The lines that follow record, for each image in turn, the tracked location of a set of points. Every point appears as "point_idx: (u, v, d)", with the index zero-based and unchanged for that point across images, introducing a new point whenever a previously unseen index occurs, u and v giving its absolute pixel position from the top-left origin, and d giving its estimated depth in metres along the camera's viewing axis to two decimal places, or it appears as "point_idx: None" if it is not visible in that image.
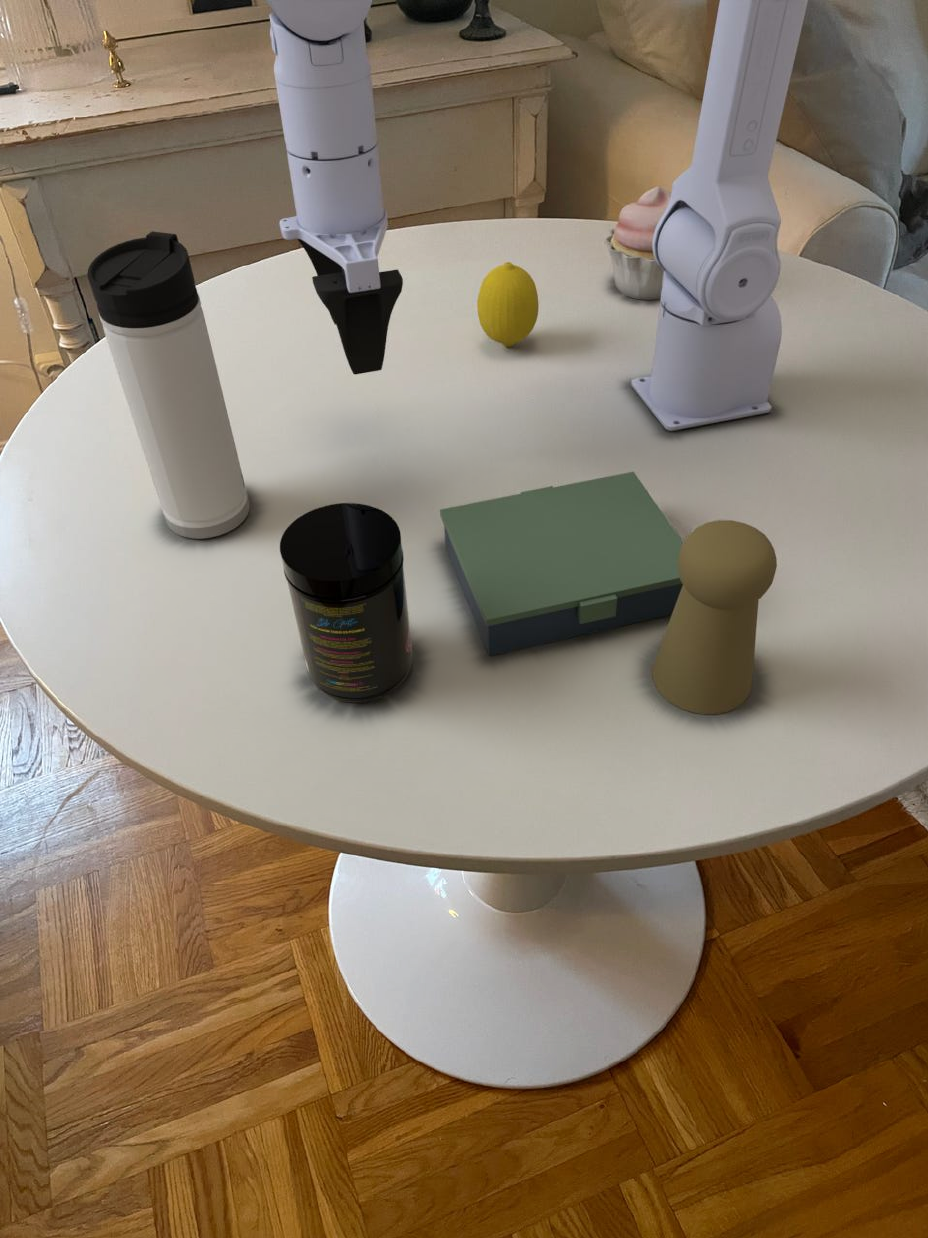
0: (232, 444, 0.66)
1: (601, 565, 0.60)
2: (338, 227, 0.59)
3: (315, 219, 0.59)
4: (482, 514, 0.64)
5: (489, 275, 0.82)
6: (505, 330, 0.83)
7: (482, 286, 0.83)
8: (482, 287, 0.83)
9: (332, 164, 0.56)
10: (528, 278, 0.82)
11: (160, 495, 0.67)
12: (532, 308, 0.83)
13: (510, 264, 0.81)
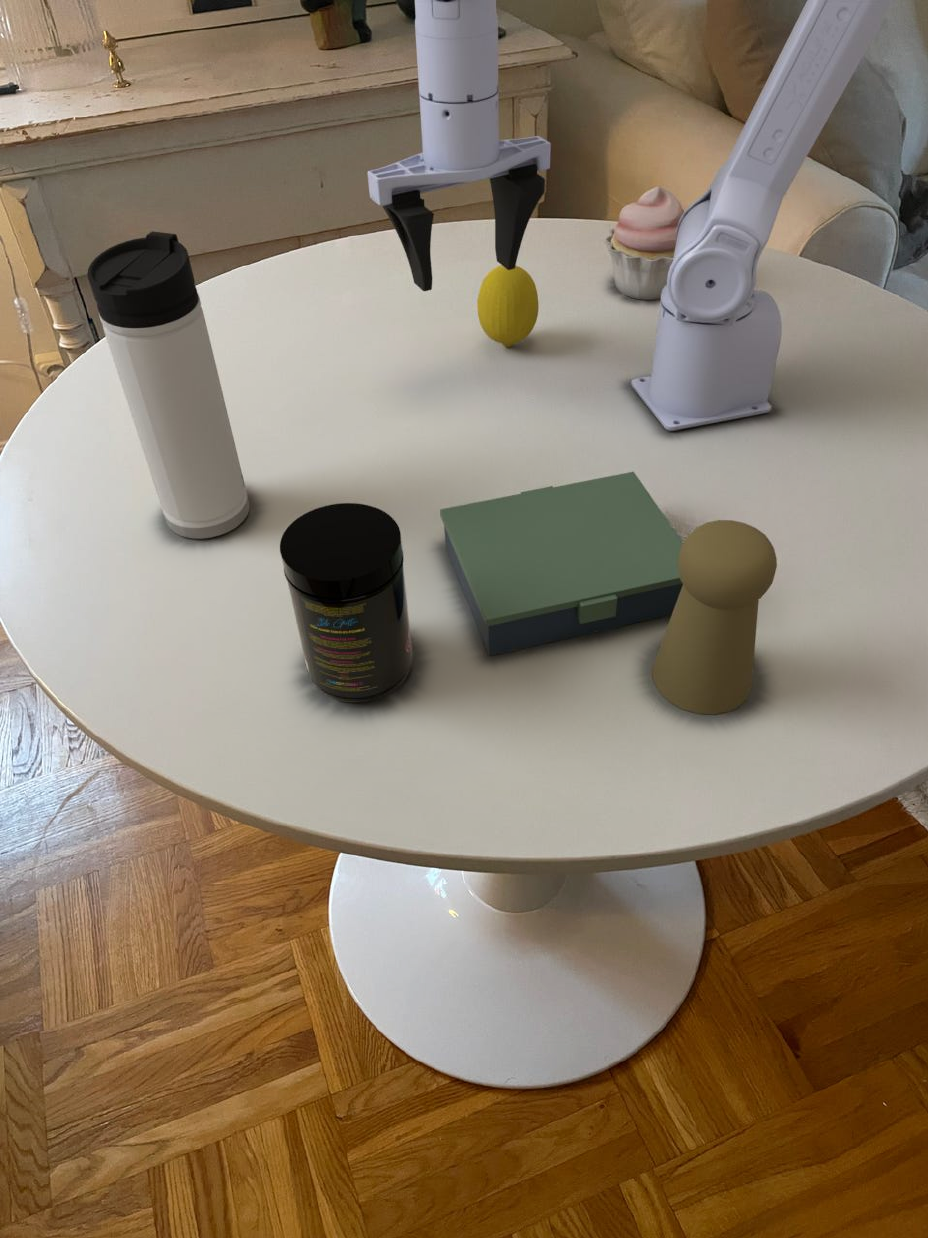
0: (232, 444, 0.66)
1: (601, 565, 0.60)
2: (423, 155, 0.69)
3: None
4: (482, 514, 0.64)
5: (489, 275, 0.82)
6: (505, 330, 0.83)
7: (482, 286, 0.83)
8: (482, 287, 0.83)
9: (421, 100, 0.67)
10: (528, 278, 0.82)
11: (160, 495, 0.67)
12: (532, 308, 0.83)
13: None
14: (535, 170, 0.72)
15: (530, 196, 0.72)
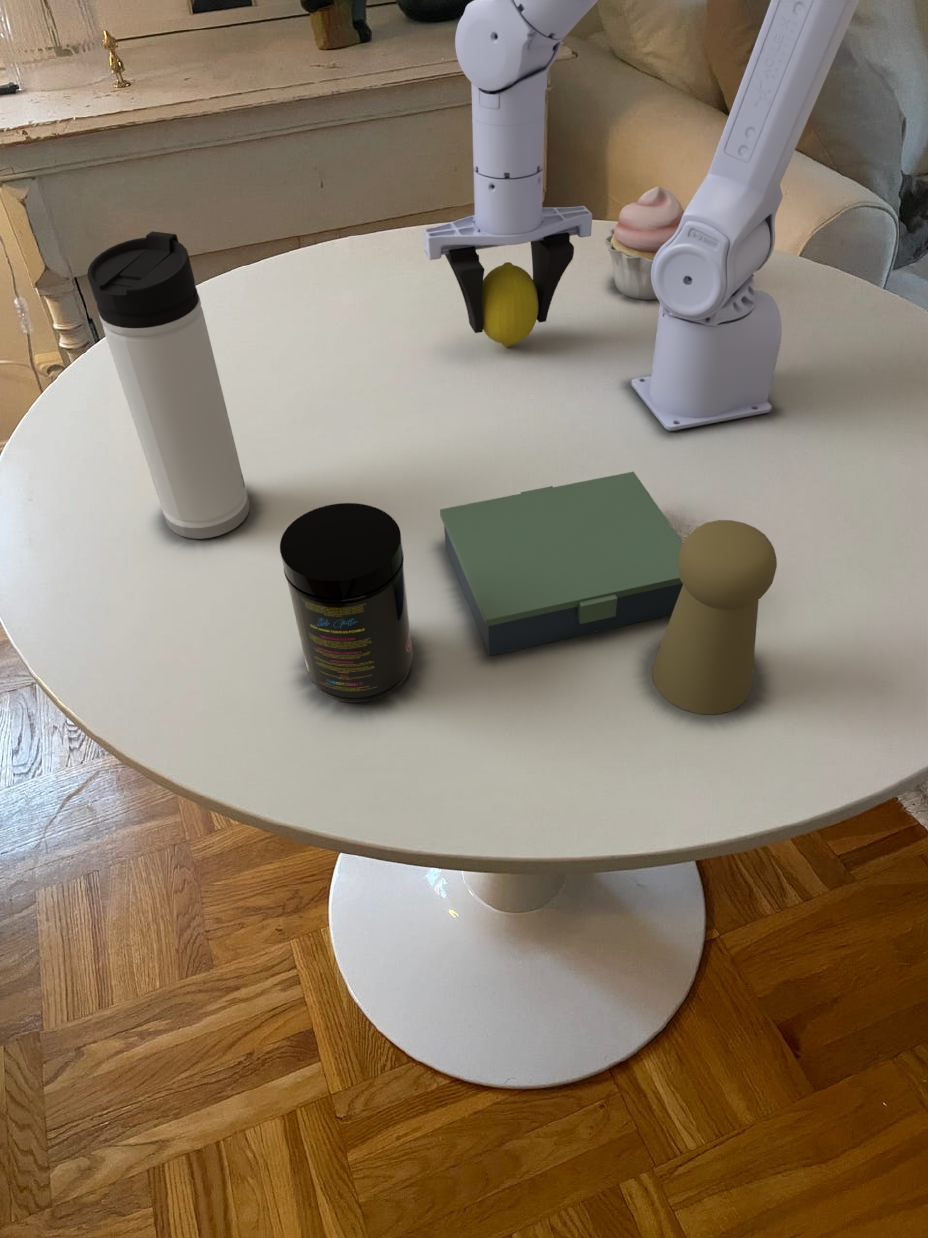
0: (232, 444, 0.66)
1: (601, 565, 0.60)
2: (474, 218, 0.79)
3: None
4: (482, 514, 0.64)
5: (489, 275, 0.82)
6: (505, 330, 0.83)
7: (482, 286, 0.83)
8: None
9: (474, 172, 0.76)
10: (528, 278, 0.82)
11: (160, 495, 0.67)
12: (532, 308, 0.83)
13: (510, 264, 0.81)
14: (568, 238, 0.81)
15: (559, 261, 0.80)
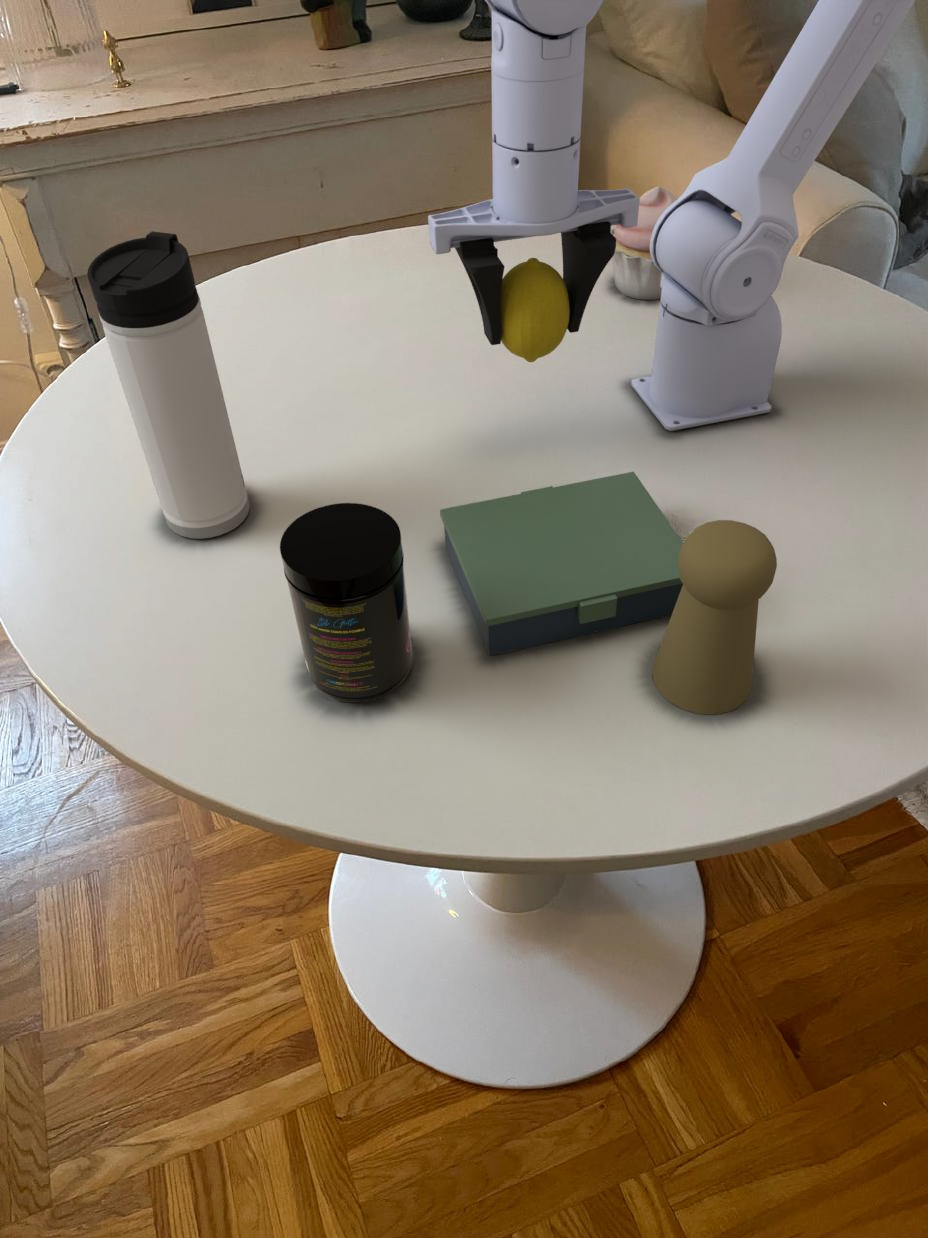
0: (232, 444, 0.66)
1: (601, 565, 0.60)
2: (492, 202, 0.63)
3: None
4: (482, 514, 0.64)
5: (509, 274, 0.66)
6: (528, 342, 0.67)
7: None
8: None
9: (493, 143, 0.60)
10: (558, 278, 0.66)
11: (160, 495, 0.67)
12: (562, 315, 0.67)
13: (536, 260, 0.66)
14: (608, 228, 0.65)
15: (597, 257, 0.64)
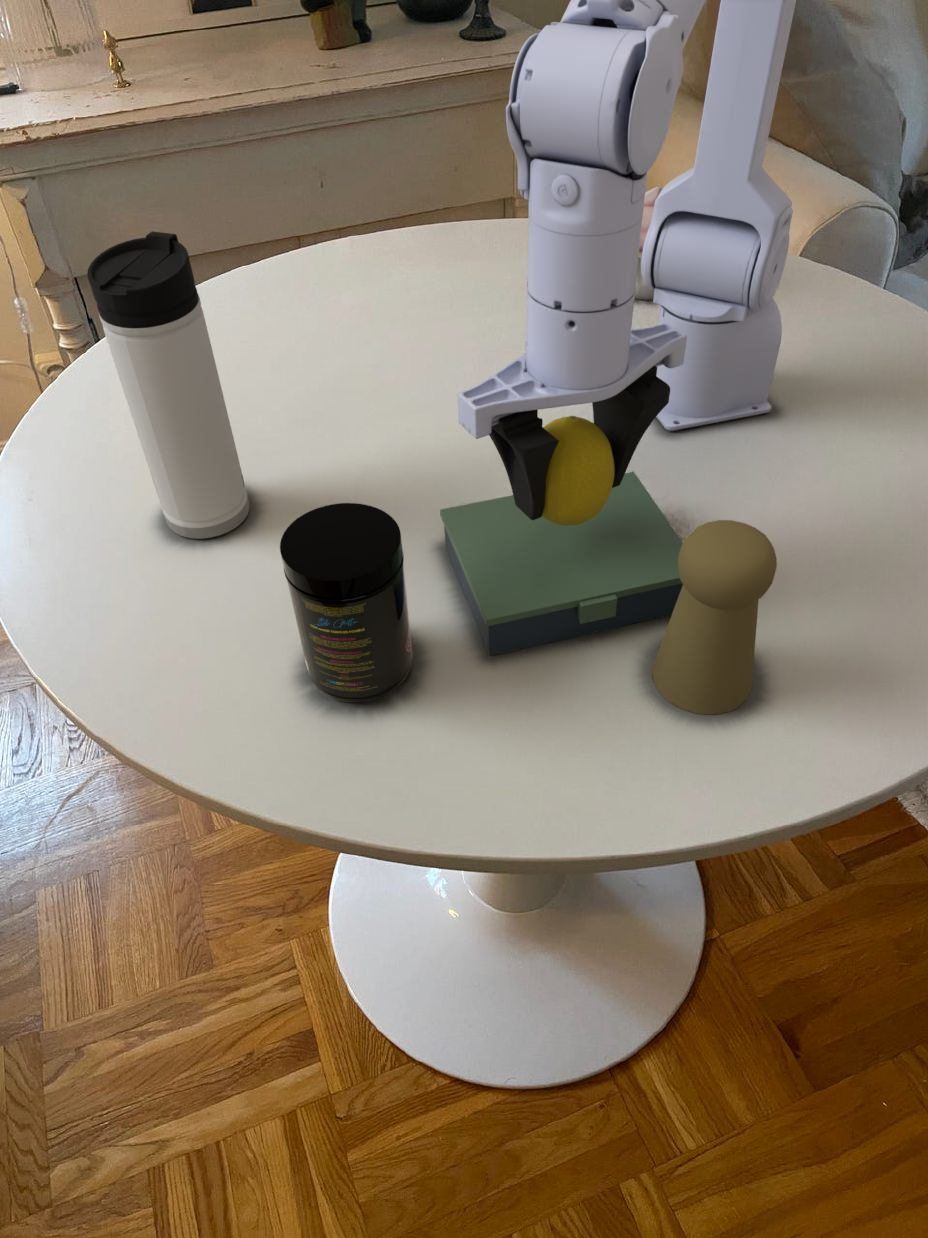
0: (232, 444, 0.66)
1: (601, 565, 0.60)
2: (529, 366, 0.52)
3: None
4: (482, 514, 0.64)
5: None
6: (578, 512, 0.57)
7: None
8: None
9: (532, 302, 0.49)
10: (602, 435, 0.56)
11: (160, 495, 0.67)
12: (612, 475, 0.57)
13: (576, 419, 0.55)
14: (654, 372, 0.55)
15: (652, 409, 0.54)
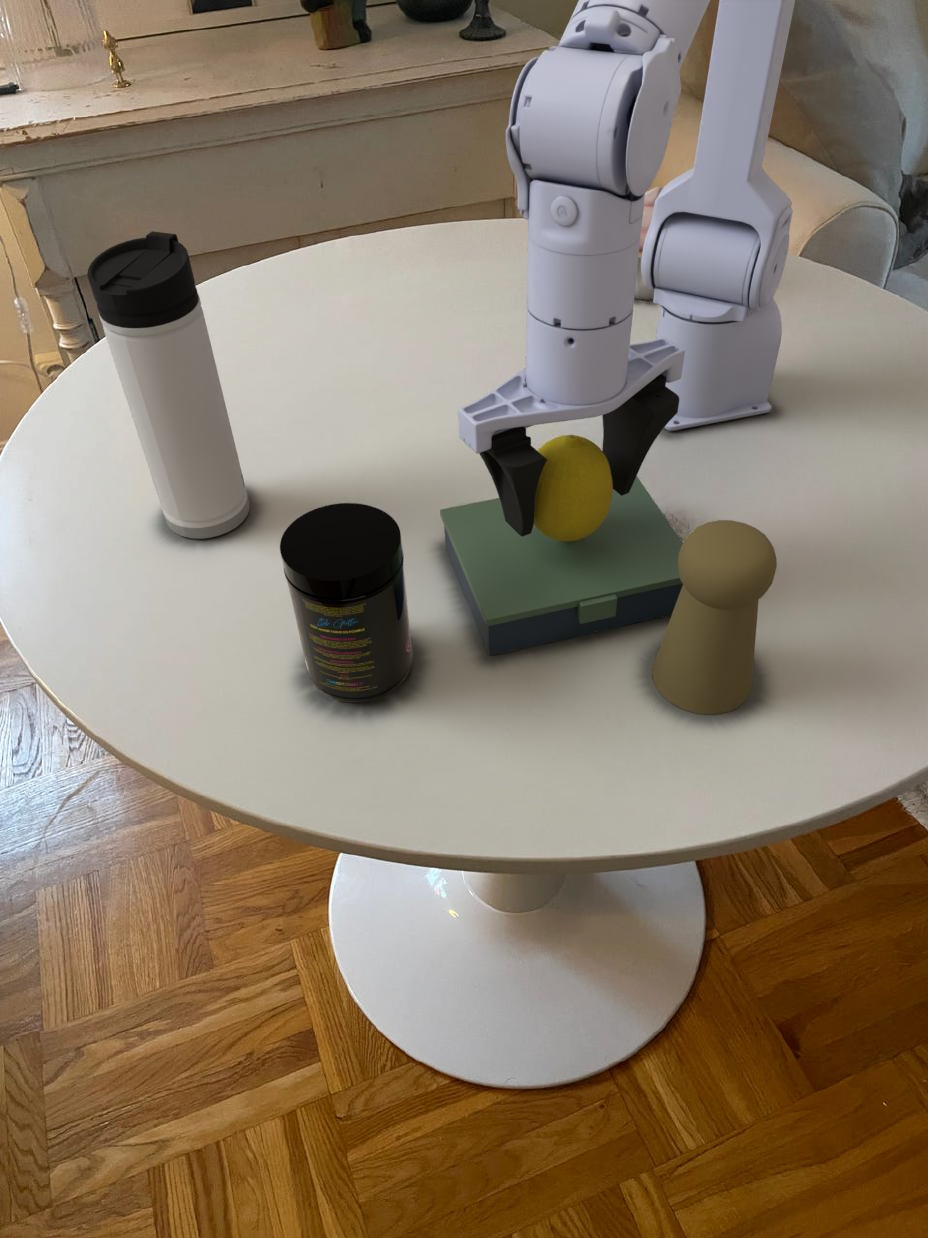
0: (232, 444, 0.66)
1: (601, 565, 0.60)
2: (529, 381, 0.52)
3: None
4: (482, 514, 0.64)
5: (545, 457, 0.56)
6: (577, 529, 0.58)
7: None
8: None
9: (532, 319, 0.50)
10: (601, 453, 0.57)
11: (160, 495, 0.67)
12: (610, 493, 0.58)
13: (575, 438, 0.56)
14: (663, 383, 0.56)
15: (661, 419, 0.55)
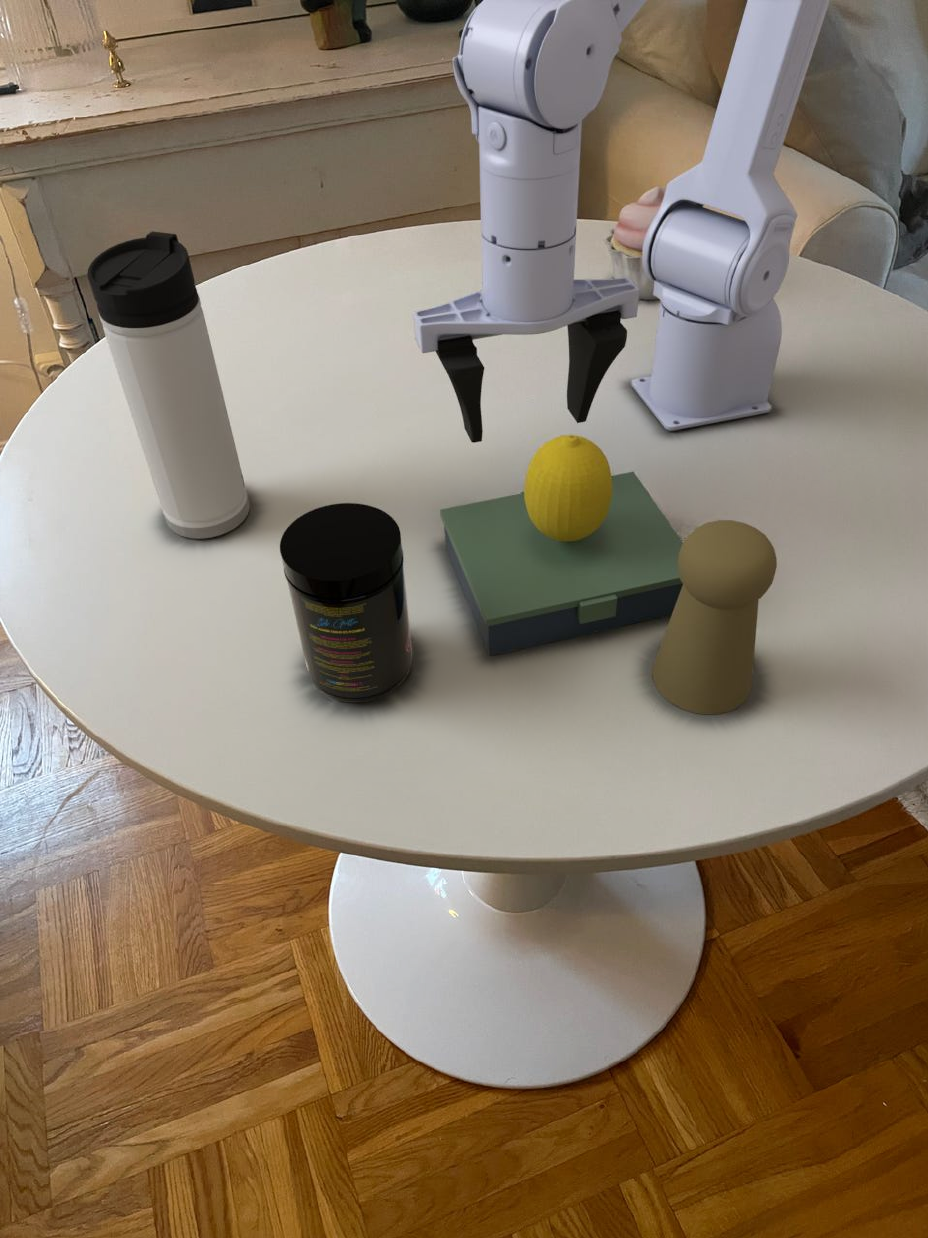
0: (232, 444, 0.66)
1: (601, 565, 0.60)
2: (482, 296, 0.58)
3: None
4: (482, 514, 0.64)
5: (545, 457, 0.56)
6: (577, 529, 0.58)
7: (536, 473, 0.57)
8: (536, 474, 0.57)
9: (482, 238, 0.56)
10: (601, 453, 0.57)
11: (160, 495, 0.67)
12: (610, 493, 0.58)
13: (575, 438, 0.56)
14: (618, 318, 0.61)
15: (607, 350, 0.60)
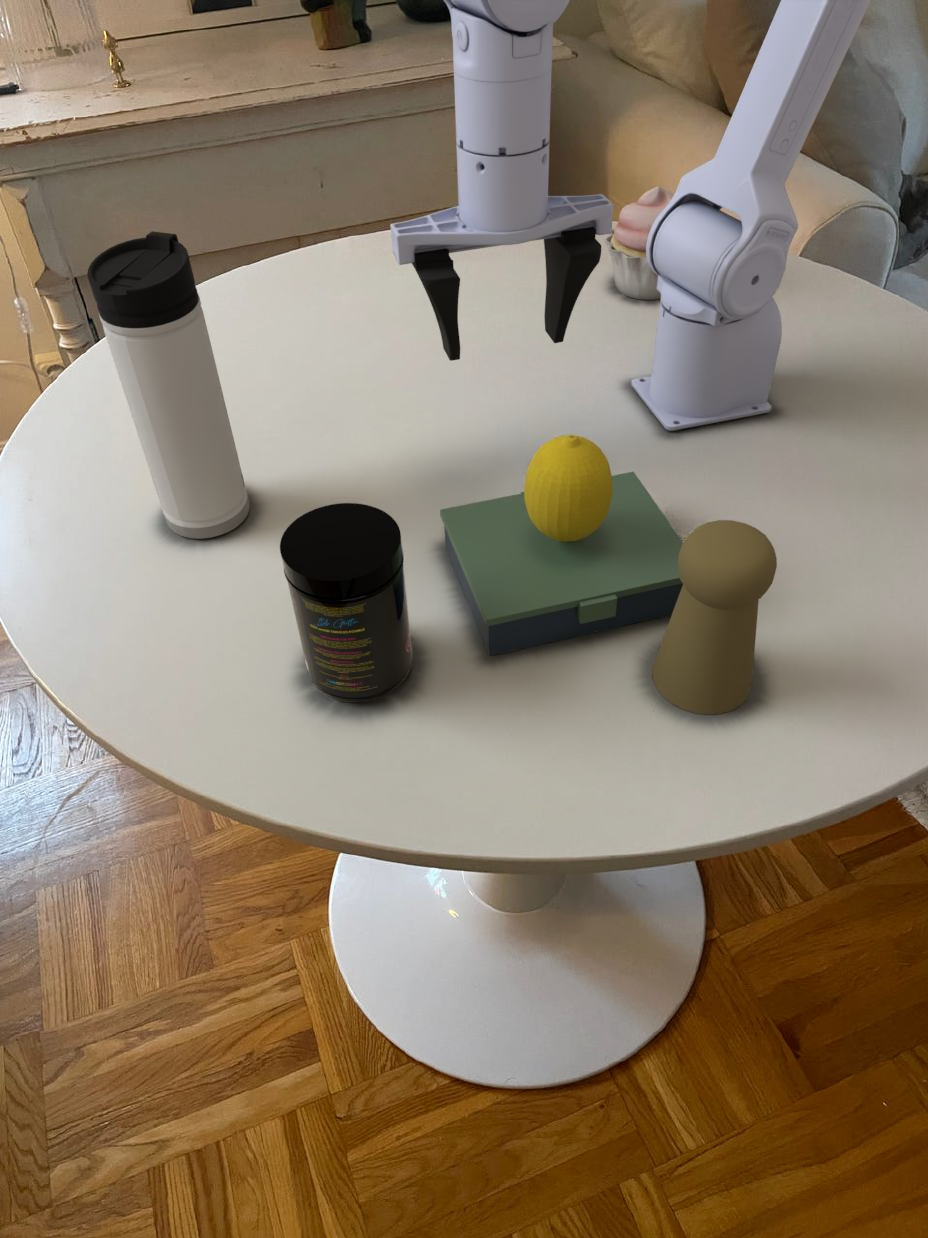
0: (232, 444, 0.66)
1: (601, 565, 0.60)
2: (458, 209, 0.60)
3: None
4: (482, 514, 0.64)
5: (545, 457, 0.56)
6: (577, 529, 0.58)
7: (536, 473, 0.57)
8: (536, 474, 0.57)
9: (457, 148, 0.57)
10: (601, 453, 0.57)
11: (160, 495, 0.67)
12: (610, 493, 0.58)
13: (575, 438, 0.56)
14: (593, 234, 0.62)
15: (581, 264, 0.61)
